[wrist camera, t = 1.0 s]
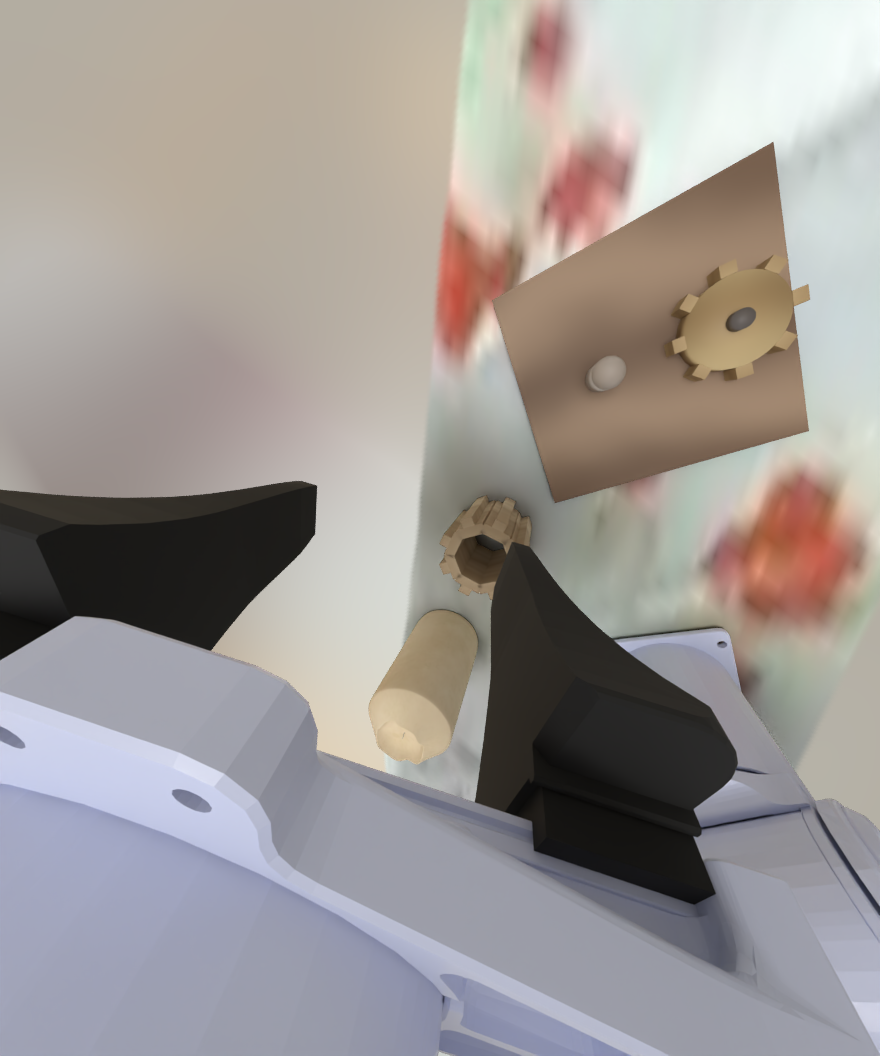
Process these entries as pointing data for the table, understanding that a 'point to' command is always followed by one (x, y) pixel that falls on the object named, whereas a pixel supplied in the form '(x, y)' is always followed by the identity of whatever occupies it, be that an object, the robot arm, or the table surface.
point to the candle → (424, 688)
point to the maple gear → (470, 558)
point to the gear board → (663, 338)
